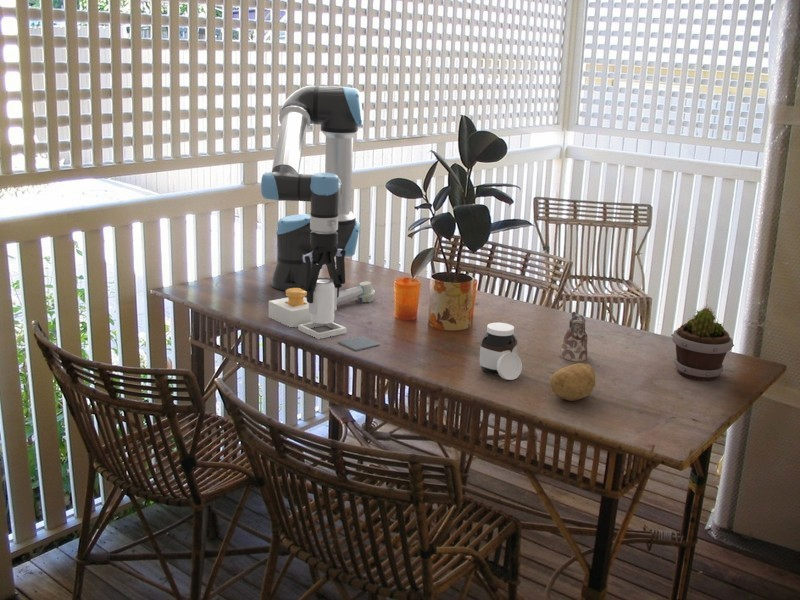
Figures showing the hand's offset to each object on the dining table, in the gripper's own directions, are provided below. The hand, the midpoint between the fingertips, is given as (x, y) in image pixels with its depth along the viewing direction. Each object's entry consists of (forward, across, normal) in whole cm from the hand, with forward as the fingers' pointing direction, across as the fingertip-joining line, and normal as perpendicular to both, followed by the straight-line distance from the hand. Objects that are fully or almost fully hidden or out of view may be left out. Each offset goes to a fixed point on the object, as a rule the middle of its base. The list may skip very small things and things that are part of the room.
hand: (322, 311), depth 246 cm
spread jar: (+6, +19, -51) cm, 55 cm away
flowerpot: (+6, +61, -81) cm, 102 cm away
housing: (+6, 0, +7) cm, 9 cm away
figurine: (+6, +44, -54) cm, 70 cm away
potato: (+5, +21, -72) cm, 75 cm away
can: (+3, 0, 0) cm, 3 cm away
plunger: (+5, 0, +13) cm, 14 cm away
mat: (+6, +2, -14) cm, 16 cm away
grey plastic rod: (+7, +19, +16) cm, 26 cm away
